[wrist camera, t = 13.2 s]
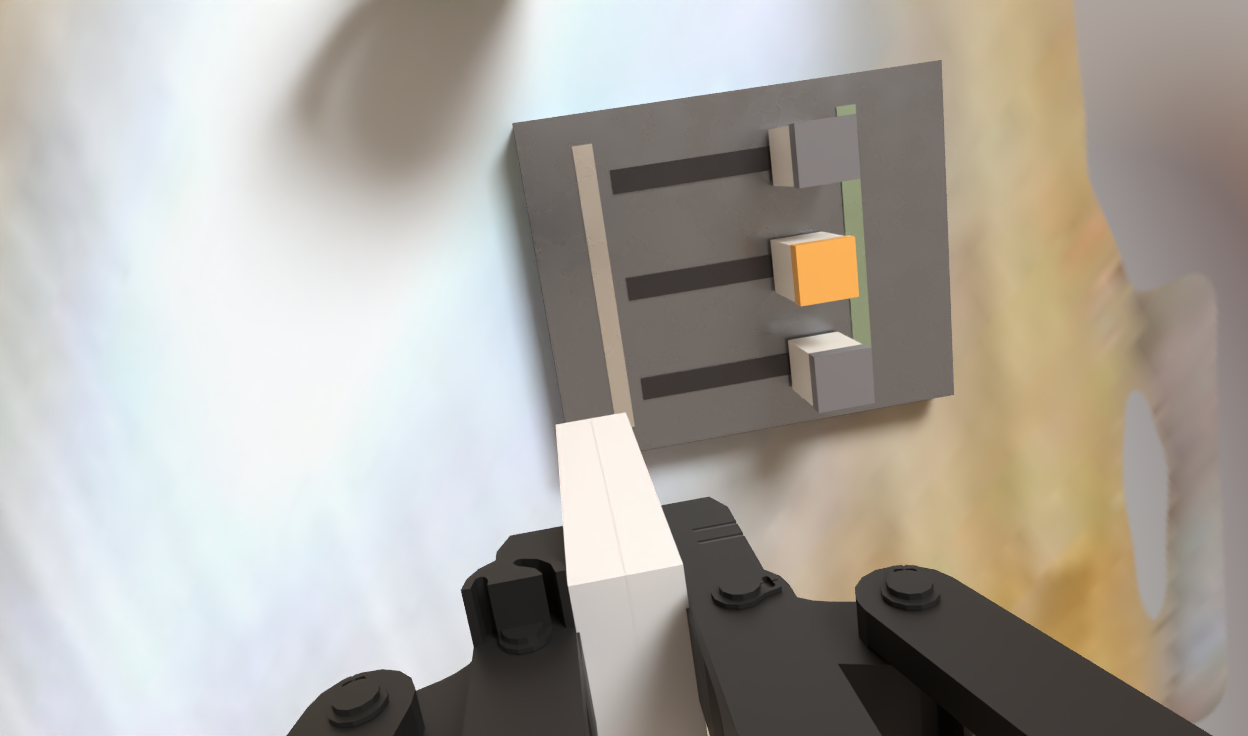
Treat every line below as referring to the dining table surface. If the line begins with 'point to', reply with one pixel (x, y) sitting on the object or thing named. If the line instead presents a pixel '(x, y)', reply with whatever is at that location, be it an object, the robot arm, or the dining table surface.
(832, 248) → the tripped breaker
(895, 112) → the panel
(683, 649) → the robot arm
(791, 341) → the block
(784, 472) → the dining table surface
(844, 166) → the block
